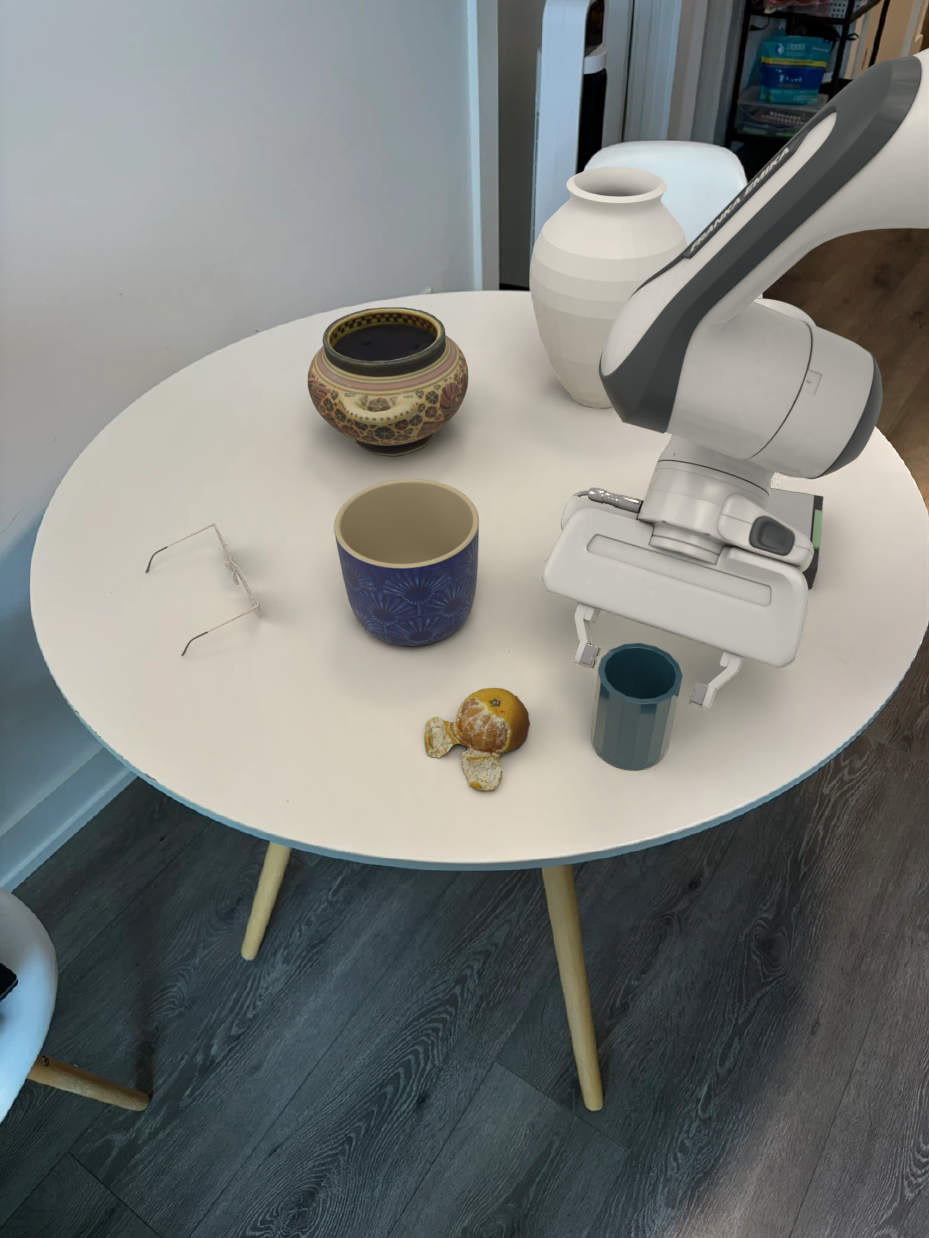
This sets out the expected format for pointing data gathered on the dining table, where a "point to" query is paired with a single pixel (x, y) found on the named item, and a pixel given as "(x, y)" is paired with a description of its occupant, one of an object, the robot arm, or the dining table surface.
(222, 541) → the eyeglasses
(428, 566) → the planter
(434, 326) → the ceramic bowl
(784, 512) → the scale
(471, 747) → the fruit
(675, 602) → the robot arm
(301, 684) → the dining table surface
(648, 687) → the cup
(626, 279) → the vase
